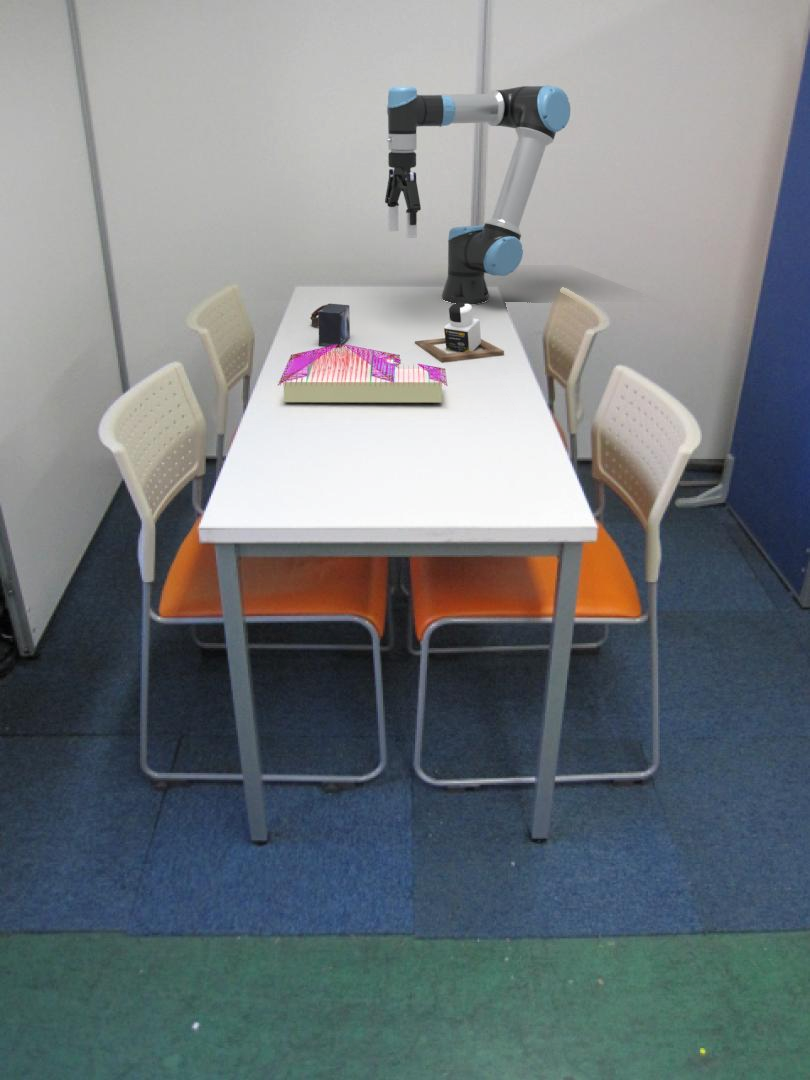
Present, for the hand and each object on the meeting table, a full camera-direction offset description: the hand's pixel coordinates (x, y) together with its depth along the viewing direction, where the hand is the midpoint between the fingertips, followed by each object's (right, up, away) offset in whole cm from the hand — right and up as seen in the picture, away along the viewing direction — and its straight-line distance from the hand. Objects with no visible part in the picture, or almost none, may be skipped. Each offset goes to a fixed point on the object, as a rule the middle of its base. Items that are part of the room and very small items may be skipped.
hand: (402, 234), depth 244 cm
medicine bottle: (+17, -34, -9) cm, 39 cm away
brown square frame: (+15, -35, -9) cm, 39 cm away
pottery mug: (-20, -24, +13) cm, 34 cm away
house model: (-9, -49, -36) cm, 62 cm away
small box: (-18, -32, -4) cm, 37 cm away
